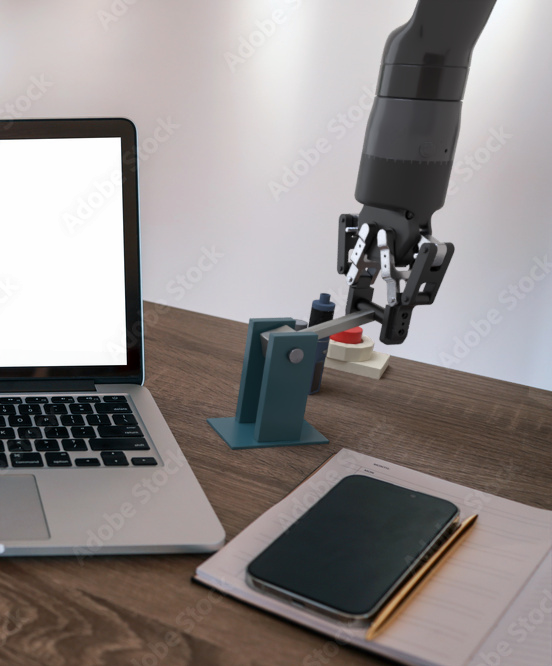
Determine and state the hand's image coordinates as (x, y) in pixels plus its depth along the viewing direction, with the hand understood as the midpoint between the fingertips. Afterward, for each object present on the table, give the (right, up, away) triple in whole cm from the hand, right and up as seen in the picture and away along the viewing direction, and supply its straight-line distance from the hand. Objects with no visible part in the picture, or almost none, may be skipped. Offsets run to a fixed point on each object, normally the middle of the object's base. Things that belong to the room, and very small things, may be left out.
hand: (372, 332), depth 74 cm
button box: (+5, -4, +21) cm, 22 cm away
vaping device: (-3, -7, +13) cm, 15 cm away
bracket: (-10, -11, +2) cm, 15 cm away
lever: (-5, -1, -1) cm, 5 cm away
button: (+5, -1, +20) cm, 20 cm away
